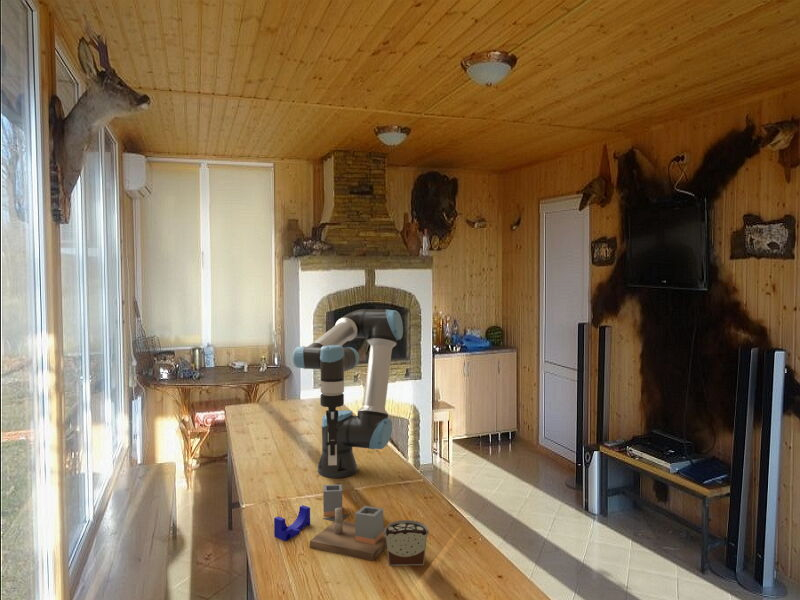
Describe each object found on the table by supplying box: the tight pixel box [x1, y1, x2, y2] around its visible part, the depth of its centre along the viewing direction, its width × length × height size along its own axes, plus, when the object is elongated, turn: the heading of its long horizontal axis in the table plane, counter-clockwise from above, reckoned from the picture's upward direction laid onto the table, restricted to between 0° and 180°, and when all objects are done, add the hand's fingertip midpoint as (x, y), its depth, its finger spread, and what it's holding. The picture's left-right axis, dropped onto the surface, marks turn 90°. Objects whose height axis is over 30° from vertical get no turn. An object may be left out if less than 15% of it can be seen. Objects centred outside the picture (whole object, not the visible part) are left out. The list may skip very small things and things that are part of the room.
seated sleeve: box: [354, 505, 384, 545], centre depth 171 cm, size 6×6×8 cm
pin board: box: [309, 507, 387, 562], centre depth 173 cm, size 16×20×9 cm
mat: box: [322, 513, 351, 522], centre depth 195 cm, size 12×12×1 cm
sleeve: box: [322, 483, 343, 517], centre depth 194 cm, size 6×6×8 cm
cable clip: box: [273, 505, 311, 542], centre depth 180 cm, size 12×4×6 cm, turn 144°
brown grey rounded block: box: [383, 519, 430, 567], centre depth 163 cm, size 12×6×10 cm, turn 92°
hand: (332, 458), depth 194 cm, fingers open, 13 cm apart
